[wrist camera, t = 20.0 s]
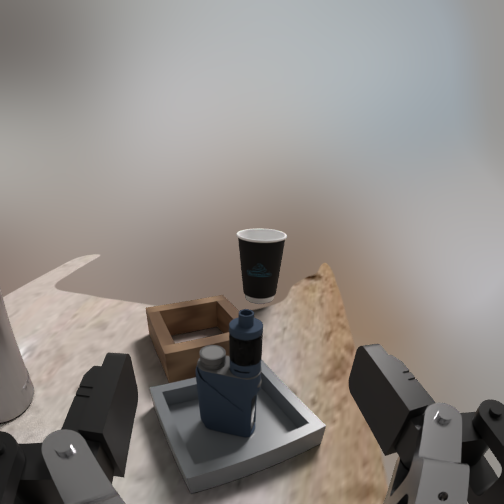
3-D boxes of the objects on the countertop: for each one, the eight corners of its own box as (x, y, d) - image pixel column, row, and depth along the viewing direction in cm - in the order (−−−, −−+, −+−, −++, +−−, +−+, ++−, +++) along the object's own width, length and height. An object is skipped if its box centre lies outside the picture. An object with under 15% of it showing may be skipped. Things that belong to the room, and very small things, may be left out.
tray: (190, 493, 18) (186, 478, 17) (153, 406, 27) (149, 387, 26) (320, 443, 23) (326, 425, 22) (260, 378, 32) (261, 359, 32)
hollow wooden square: (169, 383, 31) (164, 354, 29) (149, 333, 40) (145, 307, 39) (259, 360, 36) (260, 332, 34) (223, 319, 45) (222, 294, 44)
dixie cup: (267, 285, 58) (269, 226, 54) (292, 301, 51) (297, 237, 48) (228, 292, 54) (228, 230, 51) (250, 312, 47) (251, 242, 44)
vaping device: (254, 441, 23) (260, 324, 19) (197, 427, 24) (184, 312, 21) (261, 420, 25) (268, 306, 22) (207, 409, 27) (199, 296, 23)
